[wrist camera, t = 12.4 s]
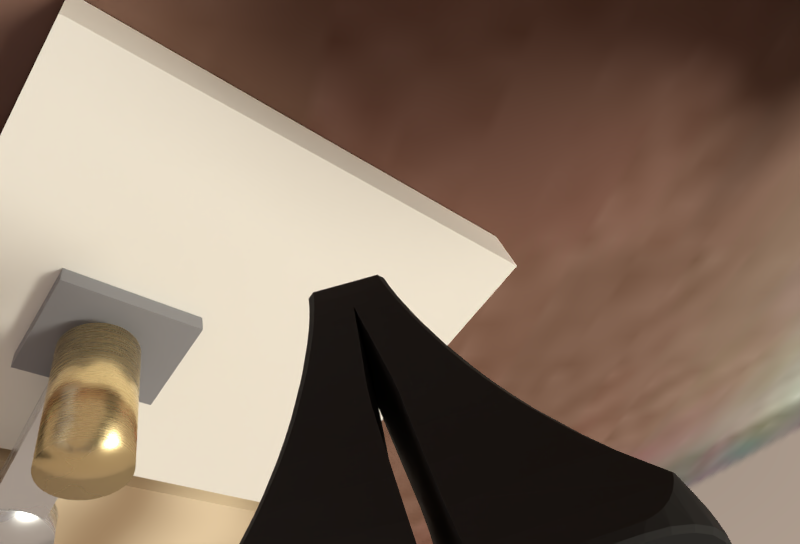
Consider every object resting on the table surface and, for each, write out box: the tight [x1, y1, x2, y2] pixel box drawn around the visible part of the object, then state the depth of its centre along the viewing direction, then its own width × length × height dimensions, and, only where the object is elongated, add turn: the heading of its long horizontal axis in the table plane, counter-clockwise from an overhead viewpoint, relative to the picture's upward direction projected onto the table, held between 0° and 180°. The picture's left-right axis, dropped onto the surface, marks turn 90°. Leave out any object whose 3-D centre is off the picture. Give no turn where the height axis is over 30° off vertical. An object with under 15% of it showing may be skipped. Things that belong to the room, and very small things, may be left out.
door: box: [0, 0, 517, 502], centre depth 23 cm, size 16×14×3 cm
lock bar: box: [0, 323, 141, 544], centre depth 20 cm, size 11×3×4 cm, turn 144°
